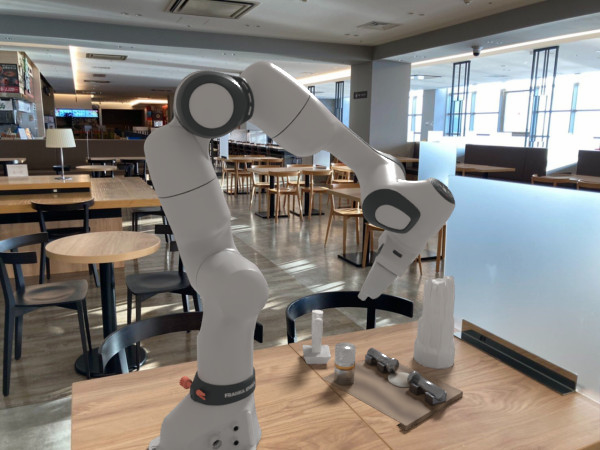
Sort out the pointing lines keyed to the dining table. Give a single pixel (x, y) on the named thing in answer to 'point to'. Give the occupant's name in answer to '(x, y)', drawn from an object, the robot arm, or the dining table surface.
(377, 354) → the far steel shaft
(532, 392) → the dining table surface
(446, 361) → the decorative vase
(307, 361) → the white peg on base
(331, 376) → the walnut base board
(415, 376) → the near steel shaft
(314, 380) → the dining table surface
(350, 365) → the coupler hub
